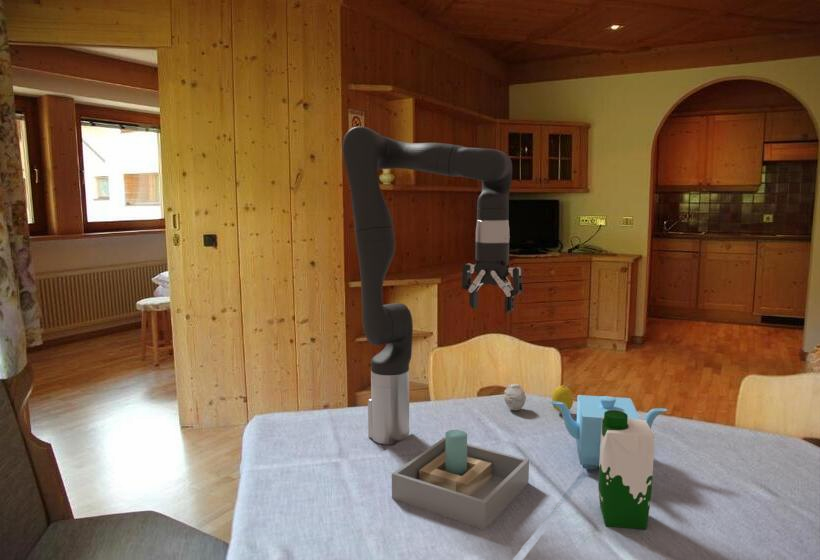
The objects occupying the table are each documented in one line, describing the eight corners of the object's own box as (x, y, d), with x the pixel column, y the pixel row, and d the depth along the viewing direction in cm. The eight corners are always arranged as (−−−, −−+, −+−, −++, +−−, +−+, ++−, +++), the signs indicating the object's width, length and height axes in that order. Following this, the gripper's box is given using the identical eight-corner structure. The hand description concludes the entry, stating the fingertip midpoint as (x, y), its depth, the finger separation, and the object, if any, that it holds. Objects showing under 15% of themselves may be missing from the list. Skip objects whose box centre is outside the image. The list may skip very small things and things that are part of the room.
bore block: (419, 484, 122) (419, 470, 121) (446, 463, 131) (446, 450, 130) (467, 499, 116) (467, 484, 115) (491, 476, 125) (492, 462, 124)
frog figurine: (520, 404, 169) (521, 380, 168) (529, 413, 162) (530, 388, 161) (500, 405, 168) (500, 381, 167) (508, 414, 161) (509, 390, 160)
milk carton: (594, 503, 116) (599, 404, 113) (643, 507, 114) (649, 407, 111) (600, 528, 107) (605, 422, 104) (653, 533, 106) (660, 426, 103)
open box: (391, 502, 116) (391, 473, 115) (443, 463, 133) (443, 437, 132) (484, 534, 105) (485, 503, 104) (528, 487, 122) (529, 459, 121)
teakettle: (598, 437, 146) (601, 379, 144) (668, 466, 131) (672, 402, 129) (544, 456, 136) (545, 394, 134) (612, 490, 121) (616, 421, 118)
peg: (441, 481, 122) (441, 435, 121) (452, 473, 126) (452, 428, 125) (460, 487, 120) (460, 440, 119) (470, 478, 124) (471, 432, 122)
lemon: (573, 418, 159) (574, 389, 157) (551, 416, 160) (552, 388, 158) (571, 410, 164) (572, 382, 163) (551, 409, 165) (551, 381, 164)
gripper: (456, 239, 136) (456, 309, 138) (514, 242, 128) (513, 317, 130) (472, 237, 142) (471, 304, 144) (528, 240, 134) (526, 311, 136)
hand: (491, 310), depth 137 cm, fingers open, 8 cm apart
